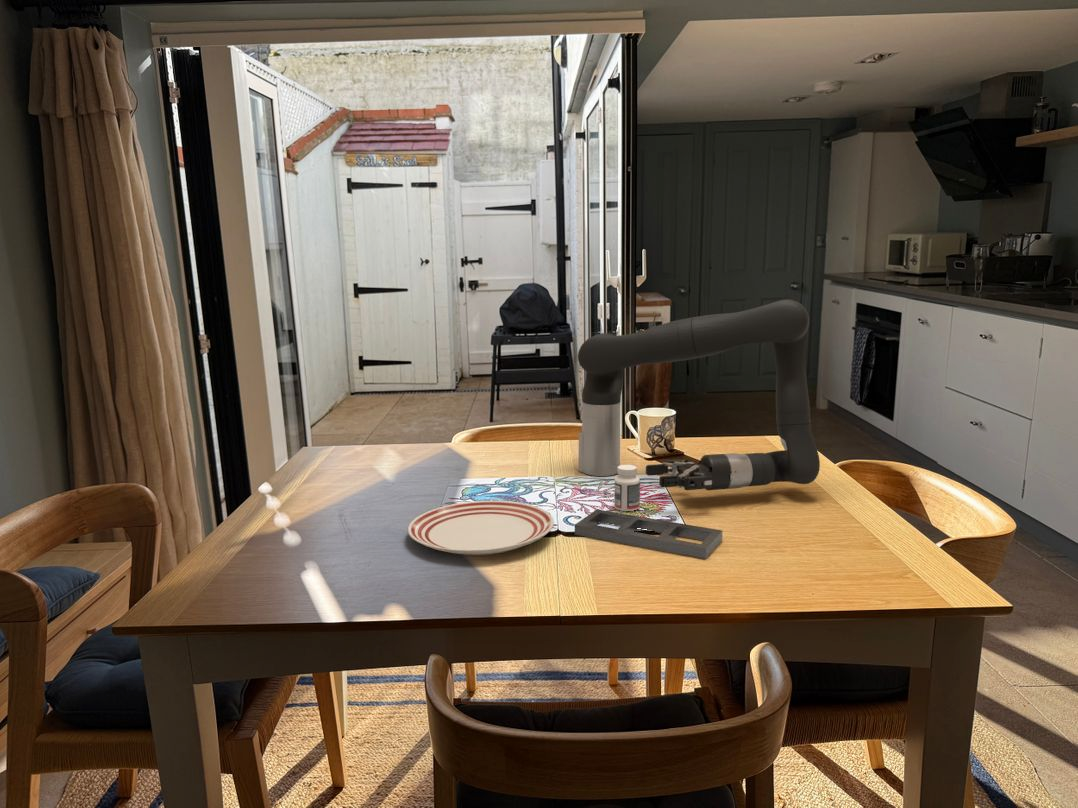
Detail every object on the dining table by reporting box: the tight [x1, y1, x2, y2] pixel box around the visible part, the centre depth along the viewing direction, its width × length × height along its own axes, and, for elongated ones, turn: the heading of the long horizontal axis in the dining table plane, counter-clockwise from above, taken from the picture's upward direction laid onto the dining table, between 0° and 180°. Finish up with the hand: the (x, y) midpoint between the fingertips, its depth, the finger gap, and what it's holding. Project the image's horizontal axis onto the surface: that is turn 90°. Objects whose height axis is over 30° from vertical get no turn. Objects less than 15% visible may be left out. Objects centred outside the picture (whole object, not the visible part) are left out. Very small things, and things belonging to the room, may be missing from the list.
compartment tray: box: [574, 509, 724, 560], centre depth 149 cm, size 26×10×2 cm, turn 61°
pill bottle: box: [613, 464, 641, 512], centre depth 165 cm, size 5×5×9 cm
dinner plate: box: [407, 500, 555, 556], centre depth 150 cm, size 28×27×3 cm
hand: (652, 476), depth 165 cm, fingers open, 8 cm apart
